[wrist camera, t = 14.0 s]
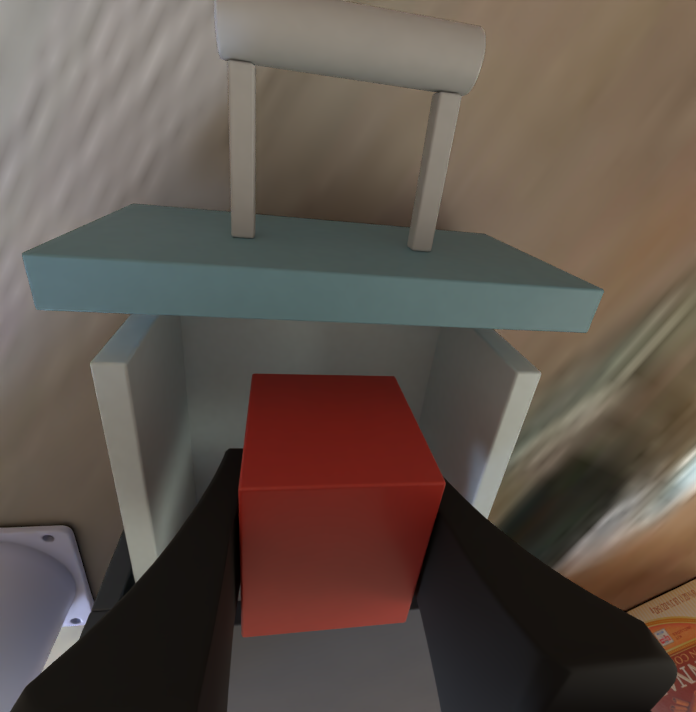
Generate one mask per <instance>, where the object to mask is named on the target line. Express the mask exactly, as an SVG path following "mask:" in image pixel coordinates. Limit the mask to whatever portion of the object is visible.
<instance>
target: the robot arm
mask: <svg viewBox="0 0 696 712" xmlns="http://www.w3.org/2000/svg"><path fill="white" fill-rule="evenodd" d="M242 454H243V448H229V449H228V450H227V451H225V454H224V457H223V459H222V461H221V463H220V465H219V467H218V469H217V471H216V473H215V475H214V477H213V479H212V480H211V482H210V484H209V486H208V487H207V489H206V491H205V492H204V494H203V496H202V497H201V499H200V500H199V502H198V504H197V505H196V507H195V508H194V510H193V511H192V513H191V514H190V516H189V517H188V518H187V520H186V521H185V523H184V524H183V526H182V527H181V528H180V530H179V531H178V533H177V534H176V535H175V537H174V538H173V539H172V541H171V542H170V543H169V544H168V546H167V547H166V548H165V550H164V551H163V552H162V553H161V554H160V556H159V557H158V558H157V559H156V561H155V562H154V563H153V564H152V565H151V566H150V568H149V569H148V570H147V571H146V572H145V573H144V574H143V575H142V577H141V578H140V579H139V580H138V581H137V582H136V583H135V584H134V586H133V587H132V588H131V589H130V590H129V591H128V592H127V593H126V594H125V595H124V596H123V597H122V598H121V599H120V600H119V601H118V602H117V603H116V604H115V605H114V606H113V607H112V608H111V609H110V610H109V611H108V612H107V613H106V614H105V615H104V616H103V617H102V618H101V619H100V620H99V621H98V622H97V623H96V624H95V625H94V626H93V627H92V628H91V629H90V630H89V631H88V632H87V633H86V634H85V635H84V636H83V637H81V638H80V639H79V640H78V641H77V642H76V643H75V644H74V645H73V646H72V647H70V648H69V649H68V650H67V651H66V652H65V653H64V654H62V655H61V656H60V657H59V658H58V659H57V660H56V661H54V662H53V663H52V664H51V665H50V666H49V667H48V668H46V669H45V670H44V671H43V672H42V670H43V667H44V665H45V663H46V661H47V659H48V656H49V654H50V652H51V650H52V647H53V645H54V643H55V641H56V638H57V636H58V634H59V632H60V629H61V627H64V626H76V625H85V624H86V621H87V619H88V616H89V614H90V613H91V610H92V607H93V605H94V602H93V598H92V595H91V591H90V588H89V584H88V581H87V577H86V574H85V571H84V567H83V564H82V560H81V557H80V553H79V550H78V547H77V543H76V540H75V536H74V533H73V531H72V529H71V528H69V527H68V526H64V525H56V526H32V527H9V528H0V712H227V705H228V692H229V679H230V667H231V654H232V642H233V630H234V622H235V614H236V607H237V601H238V595H239V589H240V543H239V497H238V488H239V479H240V471H241V463H242ZM443 478H444V477H443ZM444 480H445V483H446V485H445V488H444V492H443V495H442V499H441V502H440V506H439V509H438V512H437V516H436V519H435V523H434V526H433V530H432V533H431V537H430V540H429V543H428V547H427V550H426V554H425V557H424V561H423V564H422V567H421V571H420V574H419V578H418V581H417V585H416V588H415V592H414V593H415V596H416V599H417V603H418V606H419V610H420V614H421V618H422V622H423V627H424V631H425V635H426V640H427V644H428V649H429V653H430V658H431V663H432V668H433V673H434V677H435V682H436V687H437V692H438V697H439V703H440V708H441V712H652V711H651V709H652V708H653V707H654V706H655V705H656V704H657V703H658V702H659V701H660V700H661V698H662V697H663V696H664V695H665V694H666V693H667V692H668V691H669V690H670V688H671V687H672V685H673V684H674V683H675V681H676V677H677V667H676V664H675V663H674V661H673V660H672V659H671V657H670V656H669V655H668V653H667V652H666V651H665V649H664V648H663V647H662V645H661V644H660V643H659V641H658V640H657V639H656V637H655V636H654V635H653V633H652V632H651V631H650V629H649V628H648V627H647V626H646V624H645V623H644V622H643V621H641V620H639V619H637V618H636V617H634V616H632V615H630V614H628V613H626V612H624V611H623V610H621V609H619V608H617V607H615V606H613V605H611V604H609V603H608V602H606V601H604V600H602V599H600V598H598V597H597V596H595V595H593V594H592V593H590V592H588V591H587V590H585V589H583V588H582V587H580V586H578V585H577V584H575V583H573V582H572V581H570V580H569V579H567V578H565V577H564V576H562V575H561V574H559V573H558V572H556V571H555V570H553V569H552V568H550V567H549V566H547V565H546V564H544V563H543V562H542V561H540V560H539V559H537V558H536V557H534V556H533V555H531V554H530V553H529V552H527V551H526V550H525V549H523V548H522V547H521V546H519V545H518V544H517V543H515V542H514V541H513V540H512V539H510V538H509V537H508V536H507V535H505V534H504V533H503V532H502V531H500V530H499V529H498V528H497V527H496V526H494V525H493V524H492V523H491V522H490V521H489V520H487V519H486V518H485V517H484V516H483V515H482V514H481V513H480V512H479V511H478V510H477V509H475V508H474V507H473V506H472V505H471V504H470V503H469V502H468V501H467V500H466V499H465V498H464V497H463V496H462V495H461V494H460V493H459V492H458V491H457V490H456V489H455V488H454V487H453V486H452V485H451V484H450V483H449V482H448V481H447V480H446V479H445V478H444ZM41 672H42V673H41Z"/></svg>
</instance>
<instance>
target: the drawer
mask: <svg viewBox="0 0 696 712" xmlns="http://www.w3.org/2000/svg"><path fill="white" fill-rule="evenodd" d="M214 20H215V34H216V43H217V49H218V53H219V56H220V58H221V59H223V60H225V61H228V63H227V67H228V110H229V152H230V195H231V212H225V211H214V210H202V209H190V208H179V207H167V206H156V205H144V204H131V205H129V206H127V207H124V208H122V209H120V210H118V211H115V212H113V213H111V214H109V215H106V216H104V217H102V218H100V219H97V220H95V221H93V222H91V223H88V224H86V225H84V226H82V227H79V228H77V229H75V230H73V231H70V232H68V233H66V234H64V235H61V236H59V237H57V238H55V239H52V240H50V241H48V242H46V243H44V244H41V245H39V246H37V247H35V248H32V249H30V250H28V251H26V252H23V253H22V257H23V261H24V265H25V269H26V273H27V277H28V281H29V285H30V288H31V292H32V296H33V300H34V304H35V308H36V309H37V310H52V311H76V312H100V313H124V314H131V315H130V316H129V317H128V318H127V320H126V321H125V322H124V323H123V324H122V326H121V327H120V328H119V329H118V330H117V331H116V333H115V334H114V335H113V336H112V337H111V339H110V340H109V341H108V342H107V343H106V344H105V346H104V347H103V348H102V349H101V350H100V352H99V353H98V354H97V355H96V356H95V357H94V359H93V360H92V361H91V362H90V367H91V372H92V377H93V382H94V387H95V392H96V396H97V401H98V406H99V411H100V416H101V420H102V425H103V430H104V435H105V440H106V445H107V449H108V454H109V459H110V464H111V469H112V473H113V478H114V483H115V488H116V493H117V498H118V502H119V507H120V512H121V517H122V522H123V526H124V531H125V536H126V541H127V546H128V551H129V555H130V560H131V565H132V570H133V575H134V579H135V583H136V582H137V581H138V580H139V579H140V578H141V577H142V575H143V574H144V573H145V572H146V571H147V570H148V569H149V568H150V566H151V565H152V564H153V563H154V562H155V561H156V559H157V558H158V557H159V556H160V554H161V553H162V552H163V551H164V550H165V548H166V547H167V546H168V544H169V543H170V542H171V541H172V539H173V538H174V537H175V535H176V534H177V533H178V531H179V530H180V528H181V527H182V526H183V524H184V523H185V521H186V520H187V518H188V517H189V516H190V514H191V513H192V511H193V510H194V508H195V507H196V505H197V504H198V502H199V500H200V499H201V497H202V496H203V494H204V492H205V491H206V489H207V487H208V486H209V484H210V482H211V480H212V479H213V477H214V475H215V473H216V471H217V469H218V467H219V465H220V463H221V461H222V459H223V457H224V454H225V451H227V450H228V449H229V448H243V446H244V438H245V429H246V421H247V413H248V404H249V396H250V387H251V379H252V375H253V374H308V375H362V376H394V377H395V378H396V380H397V382H398V384H399V386H400V388H401V390H402V392H403V394H404V397H405V399H406V401H407V403H408V405H409V407H410V409H411V411H412V413H413V415H414V417H415V419H416V422H417V424H418V426H419V428H420V430H421V432H422V434H423V436H424V438H425V440H426V442H427V444H428V447H429V449H430V451H431V453H432V455H433V457H434V459H435V461H436V463H437V465H438V467H439V469H440V472H441V474H442V476H443V477H444V478H445V479H446V480H447V481H448V482H449V483H450V484H451V485H452V486H453V487H454V488H455V489H456V490H457V491H458V492H459V493H460V494H461V495H462V496H463V497H464V498H465V499H466V500H467V501H468V502H469V503H470V504H471V505H472V506H473V507H474V508H475V509H477V510H478V511H479V512H480V513H481V514H482V515H483V516H484V517H485V518H486V519H488V516H489V514H490V511H491V508H492V505H493V503H494V500H495V497H496V495H497V492H498V489H499V487H500V484H501V481H502V479H503V476H504V473H505V471H506V468H507V465H508V462H509V460H510V457H511V454H512V452H513V449H514V446H515V444H516V441H517V438H518V436H519V433H520V430H521V428H522V425H523V422H524V420H525V417H526V414H527V411H528V409H529V406H530V403H531V401H532V398H533V395H534V393H535V390H536V387H537V385H538V382H539V379H540V377H541V372H540V371H539V370H538V369H537V368H536V367H535V366H534V365H533V364H531V363H530V362H529V361H528V360H527V359H526V358H525V357H524V356H523V355H521V354H520V353H519V352H518V351H517V350H516V349H515V348H514V347H512V346H511V345H510V344H509V343H508V342H507V341H506V340H505V339H504V338H502V337H501V336H500V335H499V334H498V333H497V332H496V331H495V330H494V329H508V330H532V331H556V332H580V333H586V332H587V331H588V329H589V327H590V324H591V322H592V320H593V317H594V315H595V312H596V310H597V307H598V305H599V303H600V300H601V298H602V295H603V293H604V290H603V289H601V288H599V287H597V286H595V285H593V284H591V283H588V282H586V281H584V280H582V279H580V278H578V277H576V276H573V275H571V274H569V273H567V272H565V271H563V270H561V269H559V268H556V267H554V266H552V265H550V264H548V263H546V262H544V261H541V260H539V259H537V258H535V257H533V256H531V255H529V254H527V253H524V252H522V251H520V250H518V249H516V248H514V247H512V246H509V245H507V244H505V243H503V242H501V241H499V240H497V239H494V238H492V237H490V236H488V235H486V234H480V233H468V232H457V231H445V230H435V228H436V223H437V218H438V213H439V208H440V203H441V198H442V193H443V188H444V183H445V178H446V173H447V168H448V163H449V158H450V153H451V148H452V143H453V138H454V133H455V128H456V123H457V118H458V113H459V108H460V102H461V96H464V95H467V94H468V93H469V92H470V91H471V90H472V88H473V86H474V85H475V83H476V81H477V78H478V76H479V73H480V70H481V67H482V63H483V59H484V54H485V47H486V35H485V31H484V29H483V28H482V27H481V26H477V25H472V24H467V23H461V22H456V21H450V20H445V19H439V18H434V17H429V16H423V15H418V14H412V13H407V12H401V11H396V10H390V9H385V8H380V7H374V6H369V5H363V4H358V3H352V2H347V1H342V0H214ZM254 65H258V66H265V67H272V68H278V69H285V70H292V71H298V72H305V73H312V74H318V75H325V76H332V77H338V78H345V79H352V80H358V81H365V82H372V83H378V84H385V85H392V86H399V87H405V88H412V89H419V90H425V91H432V92H438V93H435V94H433V97H432V102H431V108H430V114H429V120H428V126H427V132H426V138H425V143H424V149H423V155H422V161H421V167H420V173H419V179H418V184H417V190H416V196H415V202H414V208H413V214H412V220H411V226H410V227H399V226H387V225H376V224H364V223H353V222H341V221H329V220H318V219H306V218H295V217H283V216H271V215H260V214H256V69H255V66H254ZM238 601H241V588H240V589H239V595H238Z"/></svg>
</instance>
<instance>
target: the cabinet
mask: <svg viewBox="0 0 696 712" xmlns="http://www.w3.org/2000/svg"><path fill="white" fill-rule="evenodd" d="M134 584H135V579H134V575H133V570H132V565H131V560H130V555H129V551H128V546H127V541H126V536H125V531H124V529H123V532H122V535H121V537H120V540H119V542H118V545H117V547H116V550H115V552H114V555H113V557H112V560H111V562H110V565H109V567H108V570H107V572H106V575H105V577H104V580H103V582H102V585H101V587H100V590H99V592H98V595H97V597H96V600H95V602H94V605H93V607H92V610H91V613H90V614H89V616H88V619H87V621H86V624H85V626H84V629H83V631H82V634H81V636H80V638H81V637H83V636H84V635H85V634H86V633H87V632H88V631H89V630H90V629H91V628H92V627H93V626H94V625H95V624H96V623H97V622H98V621H99V620H100V619H101V618H102V617H103V616H104V615H105V614H106V613H107V612H108V611H109V610H110V609H111V608H112V607H113V606H114V605H115V604H116V603H117V602H118V601H119V600H120V599H121V598H122V597H123V596H124V595H125V594H126V593H127V592H128V591H129V590H130V589H131V588H132V587H133V586H134ZM227 712H441V708H440V703H439V697H438V692H437V687H436V682H435V677H434V673H433V668H432V663H431V658H430V653H429V649H428V644H427V640H426V635H425V631H424V627H423V622H422V618H421V614H420V610H419V606H418V603H417V599H416V596H415V593H414V595H413V598H412V602H411V605H410V609H409V612H408V616H407V619H406V622H404V623H393V624H383V625H372V626H361V627H350V628H340V629H329V630H318V631H307V632H297V633H286V634H275V635H264V636H254V637H242V633H241V601H237V607H236V614H235V622H234V630H233V642H232V654H231V667H230V679H229V692H228V705H227Z"/></svg>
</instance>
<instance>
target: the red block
mask: <svg viewBox="0 0 696 712" xmlns="http://www.w3.org/2000/svg"><path fill="white" fill-rule="evenodd" d="M445 485H446V483H445V480H444V478H443V476H442V474H441V472H440V469H439V467H438V465H437V463H436V461H435V459H434V457H433V455H432V453H431V451H430V449H429V447H428V444H427V442H426V440H425V438H424V436H423V434H422V432H421V430H420V428H419V426H418V424H417V422H416V419H415V417H414V415H413V413H412V411H411V409H410V407H409V405H408V403H407V401H406V399H405V397H404V394H403V392H402V390H401V388H400V386H399V384H398V382H397V380H396V378H395V377H394V376H362V375H308V374H253V375H252V379H251V387H250V396H249V404H248V413H247V421H246V429H245V438H244V446H243V454H242V463H241V471H240V479H239V488H238V497H239V543H240V588H241V633H242V637H254V636H264V635H275V634H286V633H297V632H307V631H318V630H329V629H340V628H350V627H361V626H372V625H383V624H393V623H404V622H406V619H407V616H408V612H409V609H410V605H411V602H412V598H413V595H414V592H415V588H416V585H417V581H418V578H419V574H420V571H421V567H422V564H423V561H424V557H425V554H426V550H427V547H428V543H429V540H430V537H431V533H432V530H433V526H434V523H435V519H436V516H437V512H438V509H439V506H440V502H441V499H442V495H443V492H444V488H445Z"/></svg>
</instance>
